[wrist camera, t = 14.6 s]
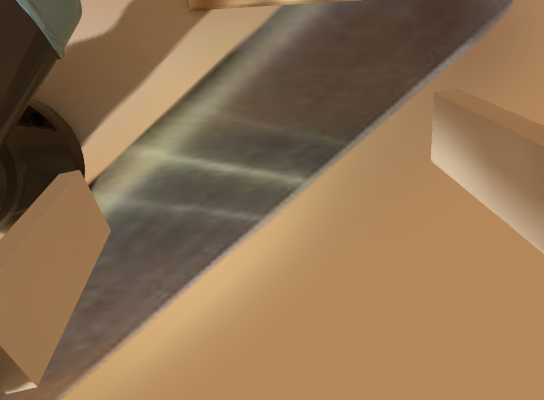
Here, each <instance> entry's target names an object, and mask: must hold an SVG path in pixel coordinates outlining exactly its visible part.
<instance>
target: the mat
mask: <svg viewBox="0 0 544 400" xmlns="http://www.w3.org/2000/svg"><path fill="white" fill-rule="evenodd" d="M341 1H358V0H188V3H189V8H190V10H205V9H222V8H238V7H255V6H273V5H290V4H307V3H324V2H341Z"/></svg>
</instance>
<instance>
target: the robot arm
mask: <svg viewBox="0 0 544 400" xmlns="http://www.w3.org/2000/svg"><path fill="white" fill-rule="evenodd" d="M81 14H82V7H81V2H80V0H0V234H5V235H4V236H3V237H2V238H1V240H0V388H1V389H2V390H3V391H4V392H5V393H6V394H8V393H13V392H17V391H22V390H26V389H31V388H35V387H38V385H39V382H40V380H41V378H42V376H43V374H44V372H45V370H46V368H47V365H48V363H49V361H50V359H51V357H52V355H53V353H54V351H55V348H56V346H57V344H58V342H59V340H60V338H61V336H62V334H63V331H64V329H65V327H66V325H67V323H68V321H69V319H70V317H71V314H72V312H73V310H74V308H75V306H76V304H77V302H78V300H79V297H80V295H81V293H82V291H83V289H84V287H85V285H86V283H87V280H88V278H89V276H90V274H91V272H92V270H93V268H94V266H95V263H96V261H97V259H98V257H99V255H100V253H101V251H102V249H103V246H104V244H105V242H106V240H107V238H108V236H109V234H110V232H111V230H110V228H109V226H108V224H107V222H106V220H105V218H104V216H103V214H102V212H101V210H100V208H99V206H98V204H97V202H96V201H95V199H94V197H93V195H92V193H91V191H90V189H89V187H88V185H87V183H86V181H85V179H84V178H85V165H84V158H83V154H82V150H81V147H80V145H79V142H78V140H77V138H76V136H75V135H74V133H73V131H72V130H71V128H70V127H69V126H68V124H67V123H66V122H65V121H64V120H63V119H62V118H61V117H60V116H59V115H58V114H57V113H55V112H54V111H53V110H52V109H50V108H49V107H47V106H45V105H44V104H42V103H40V102H37V101H35V100H32V99H33V97H34V95H35V94H36V92H37V91H38V89H39V87H40V86H41V84H42V83H43V81H44V80H45V78H46V76H47V75H48V73H49V72H50V70H51V68H52V67H53V65H54V64H55V62H56V60H57V59H60V60H61V59H62V58H63V57H64V48H65V46H66V44H67V43H68V41H69V39H70V37H71V35H72V33H73V32H74V30H75V28H76V26H77V25H78V23H79V21H80V18H81ZM431 161H432V162H434V163H435V164H436V165H437V166H438V167H440V168H441V169H442V170H443V171H444V172H446V173H447V174H448V175H449V176H450V177H452V178H453V179H454V180H455V181H457V182H458V183H459V184H460V185H461V186H462V187H464V188H465V189H466V190H467V191H469V192H470V193H471V194H472V195H473V196H475V197H476V198H477V199H478V200H479V201H481V202H482V203H483V204H484V205H486V206H487V207H488V208H489V209H490V210H491V211H493V212H494V213H495V214H496V215H497V216H499V217H500V218H501V219H502V220H503V221H505V222H506V223H507V224H508V225H510V226H511V227H512V228H513V229H514V230H516V231H517V232H518V233H519V234H520V235H522V236H523V237H524V238H525V239H526V240H528V241H529V242H530V243H532V245H534V246H535V247H536V248H537V249H539V250H540V251H541V252H542V253H543V254H544V126H543V125H541V124H538V123H536V122H534V121H531V120H529V119H527V118H524V117H522V116H520V115H517V114H515V113H513V112H510V111H508V110H505V109H503V108H501V107H498V106H496V105H494V104H491V103H489V102H487V101H484V100H482V99H480V98H477V97H475V96H473V95H470V94H468V93H466V92H463V91H461V90H459V89H456V88H452V89H447V90H443V91H439V92H435V93H434V108H433V130H432V151H431Z"/></svg>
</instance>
